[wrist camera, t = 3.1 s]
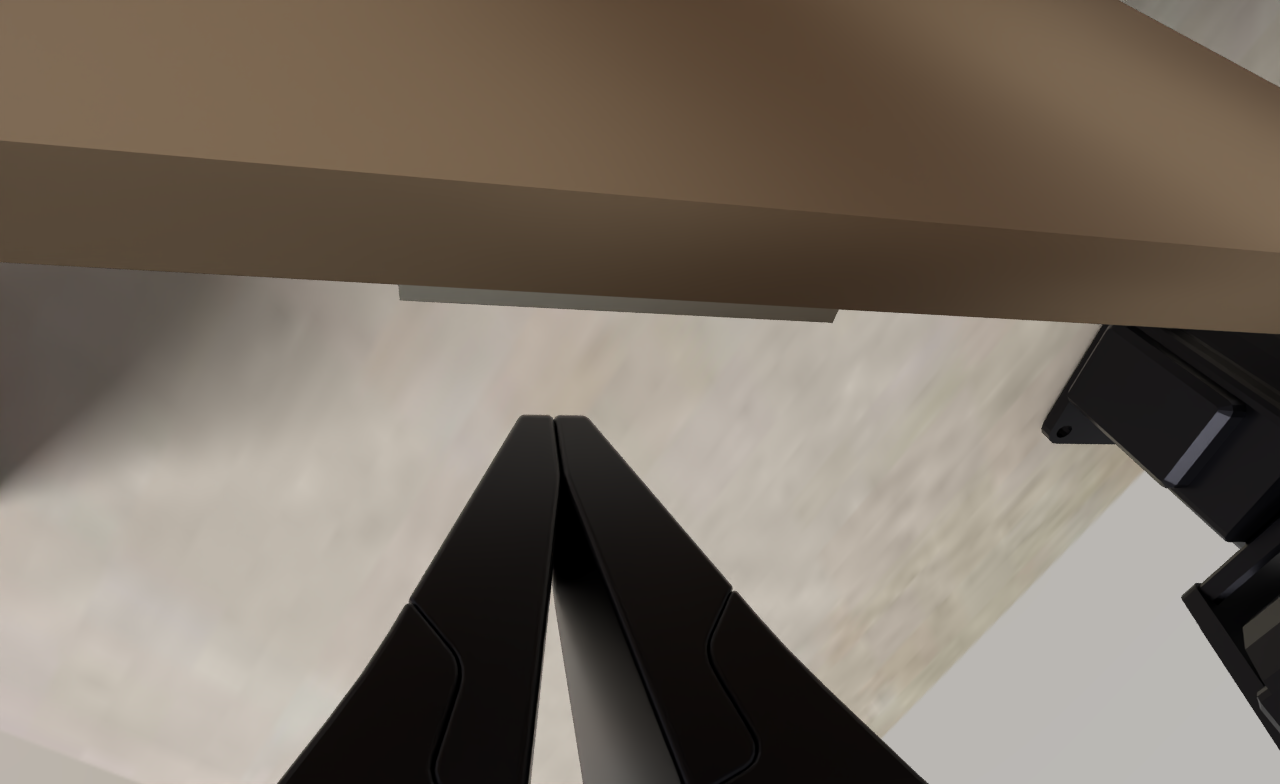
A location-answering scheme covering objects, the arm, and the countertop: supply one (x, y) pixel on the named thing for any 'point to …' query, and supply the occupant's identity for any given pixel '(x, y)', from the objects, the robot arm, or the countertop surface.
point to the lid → (654, 154)
